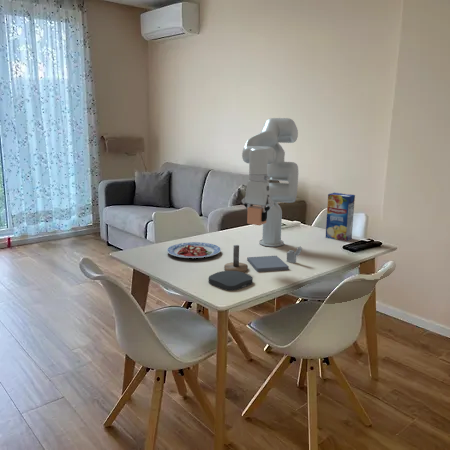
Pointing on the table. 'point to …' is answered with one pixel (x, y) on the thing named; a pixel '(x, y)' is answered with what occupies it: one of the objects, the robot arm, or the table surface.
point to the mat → (267, 263)
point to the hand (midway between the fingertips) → (257, 219)
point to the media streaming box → (230, 280)
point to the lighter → (293, 255)
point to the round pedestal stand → (236, 262)
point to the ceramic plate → (193, 250)
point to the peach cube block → (255, 215)
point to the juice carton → (340, 216)
